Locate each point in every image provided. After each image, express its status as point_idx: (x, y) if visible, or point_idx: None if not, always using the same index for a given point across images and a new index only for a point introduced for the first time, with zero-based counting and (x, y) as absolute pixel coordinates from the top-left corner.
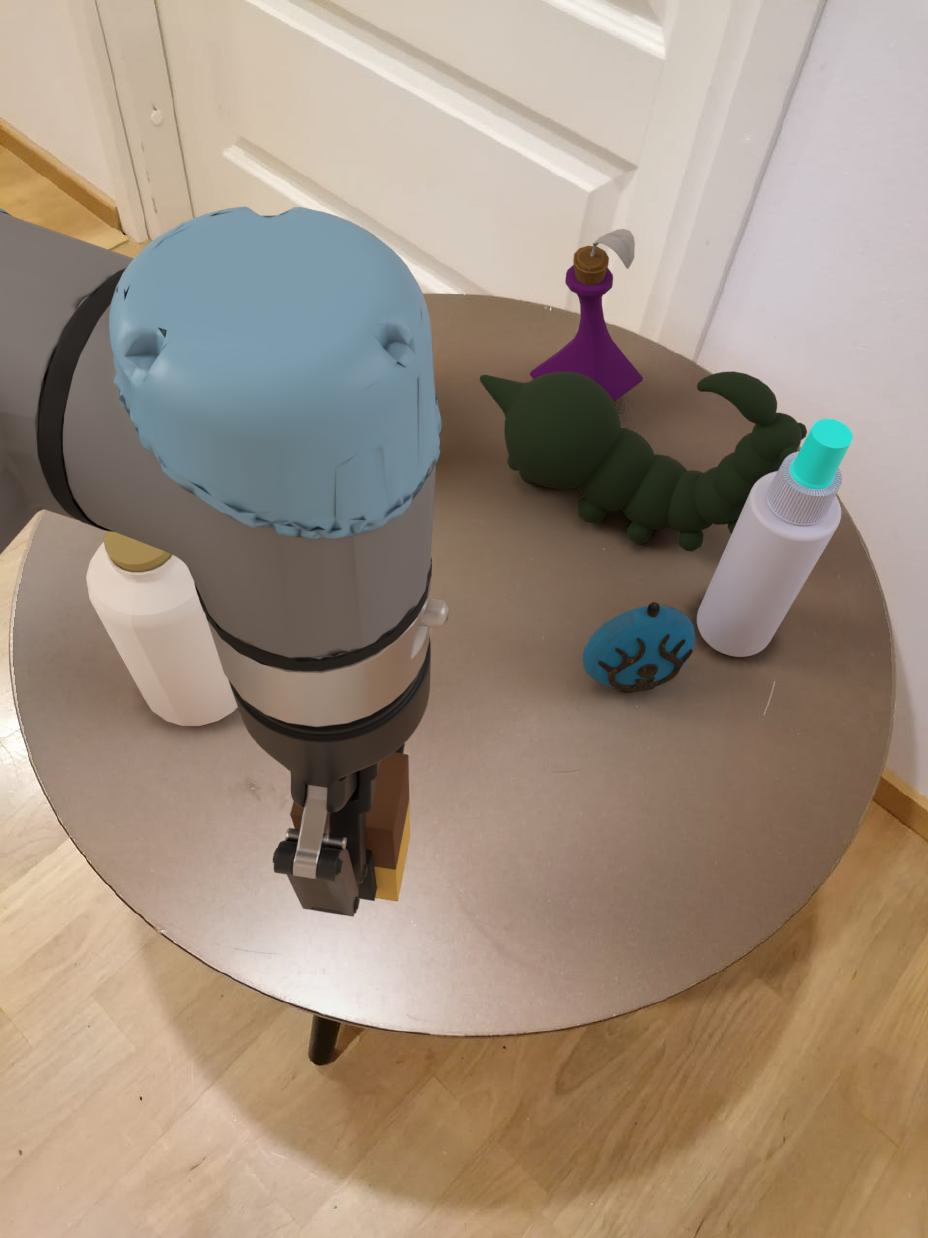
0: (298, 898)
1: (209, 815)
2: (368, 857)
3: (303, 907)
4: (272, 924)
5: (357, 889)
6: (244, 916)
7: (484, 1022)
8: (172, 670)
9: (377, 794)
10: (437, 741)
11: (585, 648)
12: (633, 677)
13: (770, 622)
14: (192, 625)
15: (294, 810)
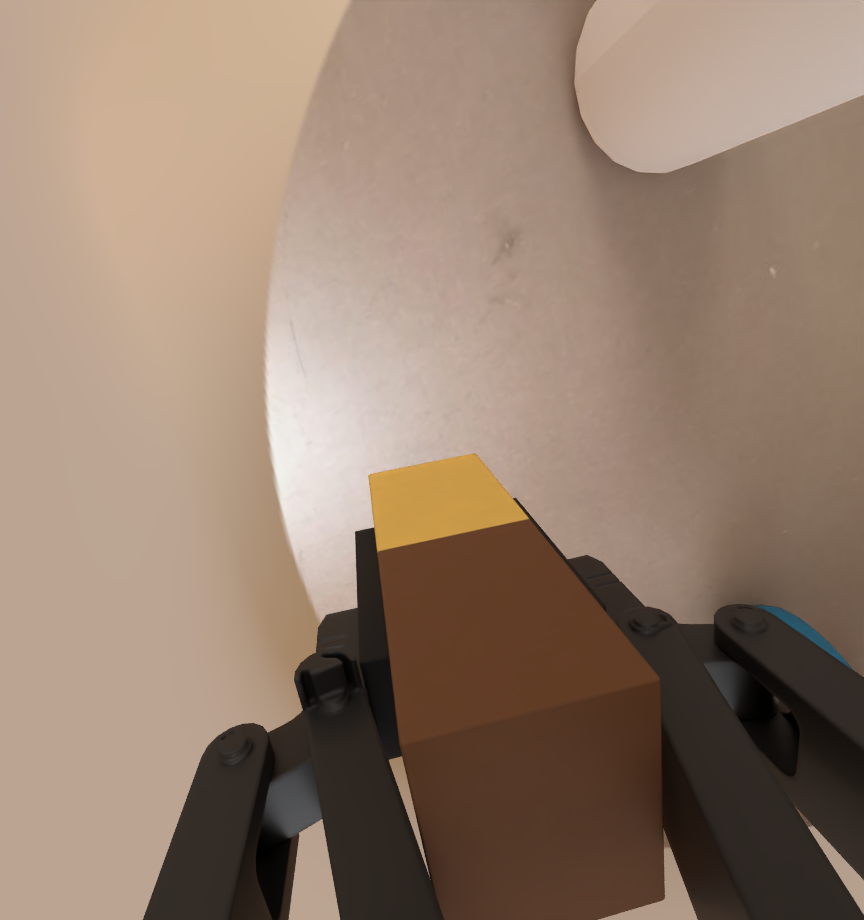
0: (162, 869)
1: (450, 197)
2: (397, 754)
3: (199, 768)
4: (338, 356)
5: (295, 857)
6: (334, 314)
7: None
8: (697, 17)
9: (537, 892)
10: (628, 461)
11: (795, 626)
12: None
13: None
14: (856, 15)
15: (418, 746)
